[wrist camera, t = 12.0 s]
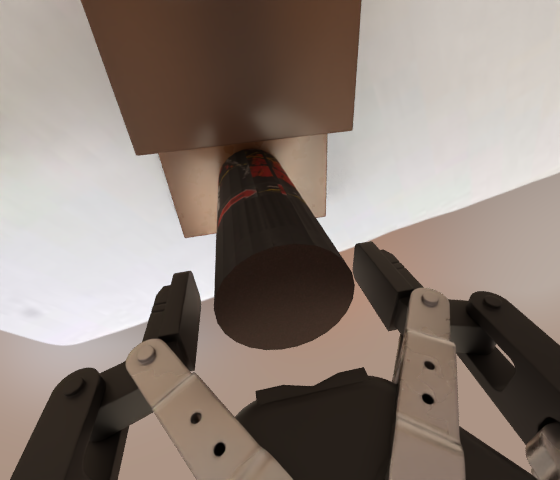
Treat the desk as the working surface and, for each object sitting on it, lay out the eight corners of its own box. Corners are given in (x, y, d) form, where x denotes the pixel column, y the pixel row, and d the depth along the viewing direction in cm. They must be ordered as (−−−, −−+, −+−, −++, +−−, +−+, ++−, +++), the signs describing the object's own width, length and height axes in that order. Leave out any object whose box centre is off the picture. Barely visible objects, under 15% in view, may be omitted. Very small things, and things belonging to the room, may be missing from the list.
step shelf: (315, -14, 20) (456, -151, 8) (315, 202, 30) (379, 289, 18) (122, -5, 19) (-66, -159, 6) (188, 221, 28) (163, 331, 16)
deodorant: (289, 204, 25) (356, 329, 13) (229, 219, 25) (236, 363, 13) (278, 141, 22) (352, 225, 10) (208, 157, 22) (191, 267, 9)
